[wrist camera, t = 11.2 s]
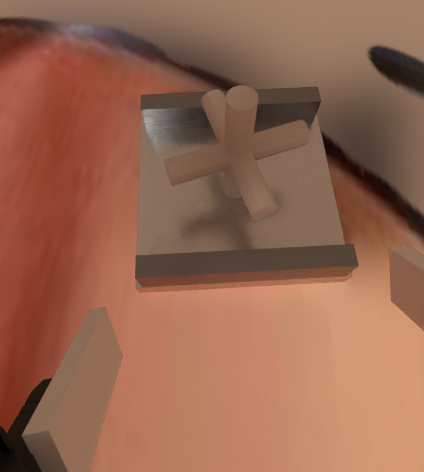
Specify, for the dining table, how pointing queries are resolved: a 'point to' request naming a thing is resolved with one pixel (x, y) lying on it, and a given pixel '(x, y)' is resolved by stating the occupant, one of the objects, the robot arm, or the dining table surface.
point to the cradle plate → (235, 204)
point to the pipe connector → (238, 149)
